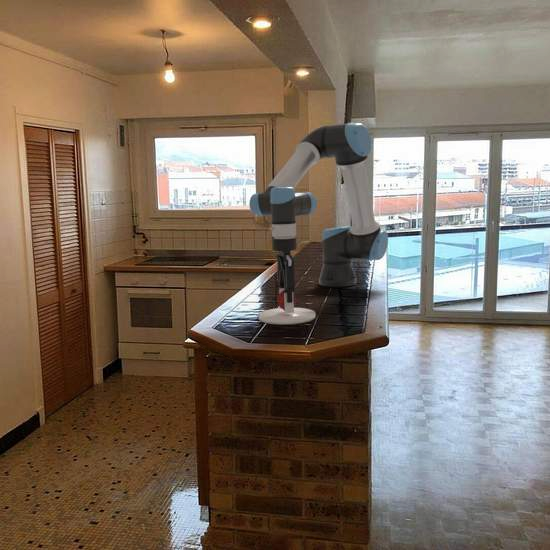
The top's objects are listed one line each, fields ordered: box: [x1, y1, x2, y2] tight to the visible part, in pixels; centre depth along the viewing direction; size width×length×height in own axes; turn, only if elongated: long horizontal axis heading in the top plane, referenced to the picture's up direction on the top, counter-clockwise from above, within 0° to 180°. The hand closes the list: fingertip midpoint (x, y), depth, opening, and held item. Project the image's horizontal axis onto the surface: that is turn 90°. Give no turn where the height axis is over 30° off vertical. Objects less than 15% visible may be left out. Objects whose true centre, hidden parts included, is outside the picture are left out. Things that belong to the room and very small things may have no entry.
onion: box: [277, 288, 297, 311], centre depth 187 cm, size 6×6×8 cm
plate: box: [258, 307, 317, 325], centre depth 188 cm, size 18×18×1 cm
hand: (286, 310), depth 187 cm, fingers open, 6 cm apart
